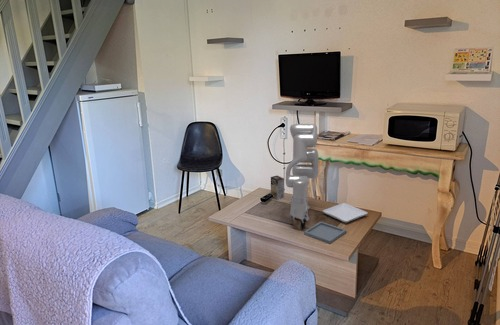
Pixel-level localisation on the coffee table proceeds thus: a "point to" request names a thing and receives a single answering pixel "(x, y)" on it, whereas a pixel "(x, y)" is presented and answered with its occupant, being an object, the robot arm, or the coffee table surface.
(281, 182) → the coffee box
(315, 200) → the coffee table surface
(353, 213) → the salad plate
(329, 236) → the slate dish
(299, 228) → the walnut block
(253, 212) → the coffee table surface
